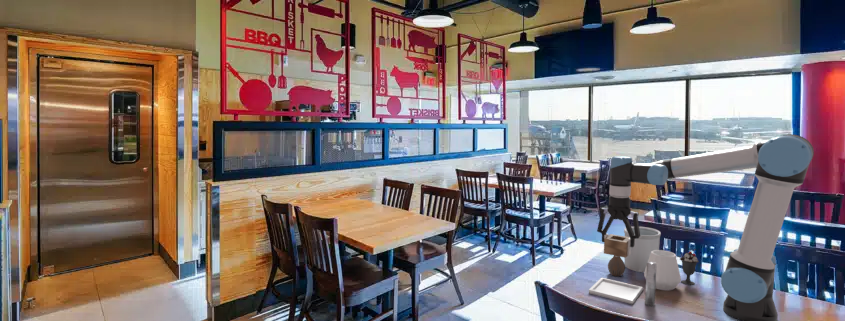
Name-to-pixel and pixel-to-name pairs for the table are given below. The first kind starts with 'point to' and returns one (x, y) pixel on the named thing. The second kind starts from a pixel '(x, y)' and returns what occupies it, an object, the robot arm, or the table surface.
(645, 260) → the utensil holder
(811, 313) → the table surface
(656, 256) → the cup
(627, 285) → the tray
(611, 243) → the wooden square holder
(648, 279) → the pin
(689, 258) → the sundae
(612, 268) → the vase
